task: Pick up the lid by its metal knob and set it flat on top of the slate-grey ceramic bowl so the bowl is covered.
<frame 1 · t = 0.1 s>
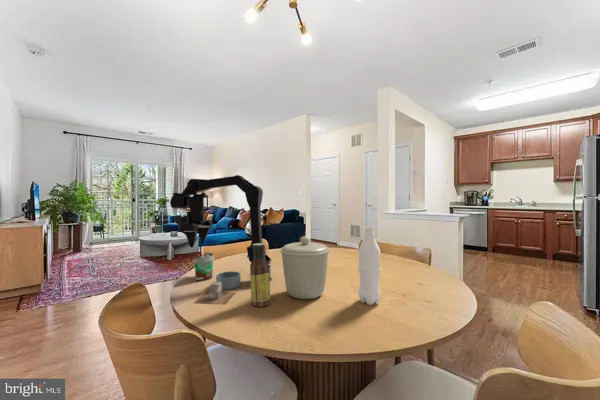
hand: (197, 245, 116), 15 cm above the table, tool pointing down, fingers open, 9 cm apart
sauce bottle: (260, 304, 90), on the table
lid: (215, 299, 95), on the table
bowl: (228, 285, 107), on the table
canister: (305, 294, 98), on the table
food container: (207, 278, 118), on the table
water bottle: (369, 302, 91), on the table
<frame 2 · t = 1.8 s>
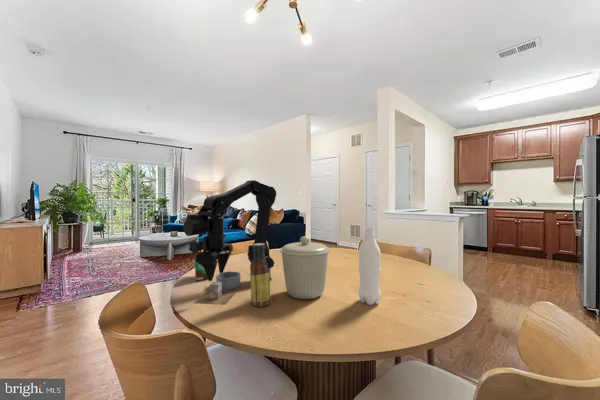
hand: (216, 276, 95), 7 cm above the table, tool pointing down, fingers open, 9 cm apart
nothing on the table moved.
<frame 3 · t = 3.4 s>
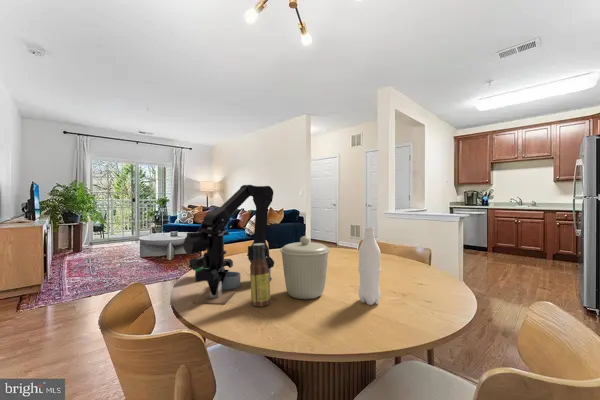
hand: (215, 293, 95), 2 cm above the table, tool pointing down, fingers closed on lid, 3 cm apart
lid: (215, 297, 95), on the table, touching gripper
everything else where it was.
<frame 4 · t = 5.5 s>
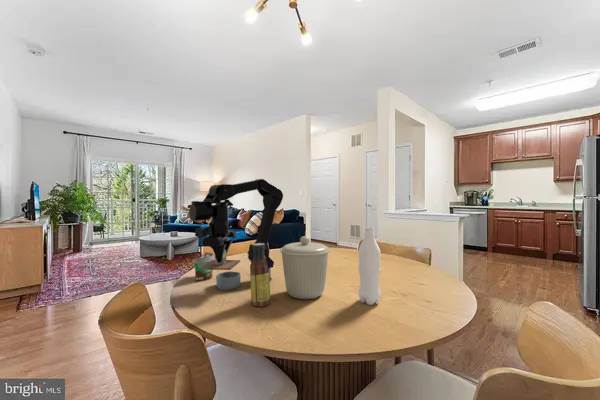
hand: (221, 261, 100), 12 cm above the table, tool pointing down, fingers closed on lid, 3 cm apart
lid: (221, 265, 100), point 10 cm above the table, touching gripper
everything else where it was.
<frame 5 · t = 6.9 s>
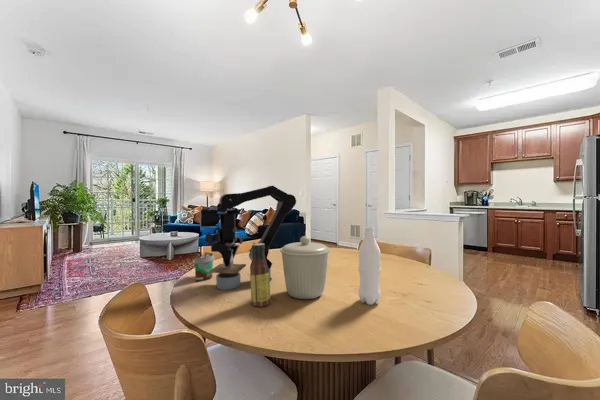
hand: (228, 265, 107), 8 cm above the table, tool pointing down, fingers closed on lid, 3 cm apart
lid: (228, 269, 107), point 7 cm above the table, touching gripper
everything else where it was.
when the fingers open (7 cm above the table, at t = 7.9 s): lid drops 1 cm, resting on bowl.
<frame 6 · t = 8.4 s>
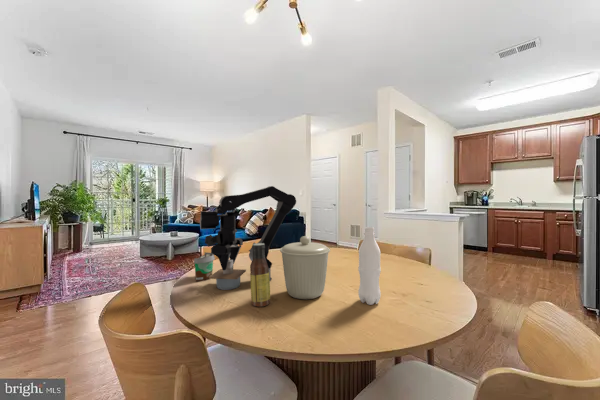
hand: (228, 267, 107), 7 cm above the table, tool pointing down, fingers open, 8 cm apart
lid: (228, 274, 107), point 4 cm above the table, touching bowl
everything else where it was.
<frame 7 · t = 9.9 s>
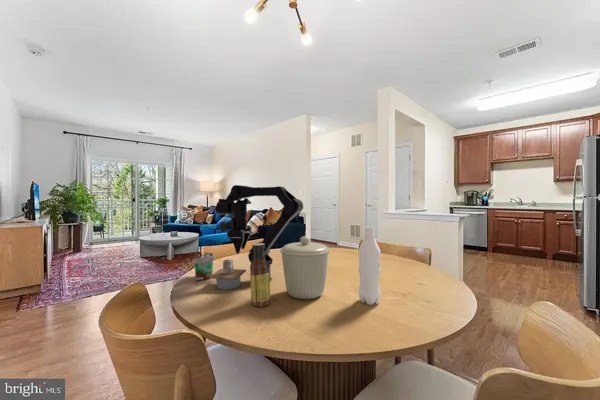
hand: (240, 251, 116), 12 cm above the table, tool pointing down, fingers open, 9 cm apart
nothing on the table moved.
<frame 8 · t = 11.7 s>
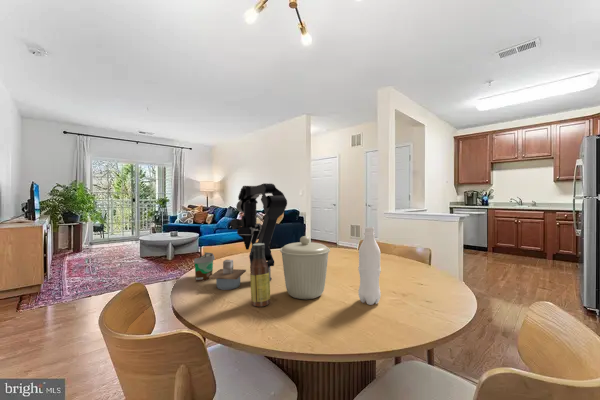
hand: (250, 247, 124), 12 cm above the table, tool pointing down, fingers open, 9 cm apart
nothing on the table moved.
at the end: lid 0.0 cm off-centre on the bowl, point 4.5 cm above the bowl's base; lid tilted 0°; the gripper is holding nothing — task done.
